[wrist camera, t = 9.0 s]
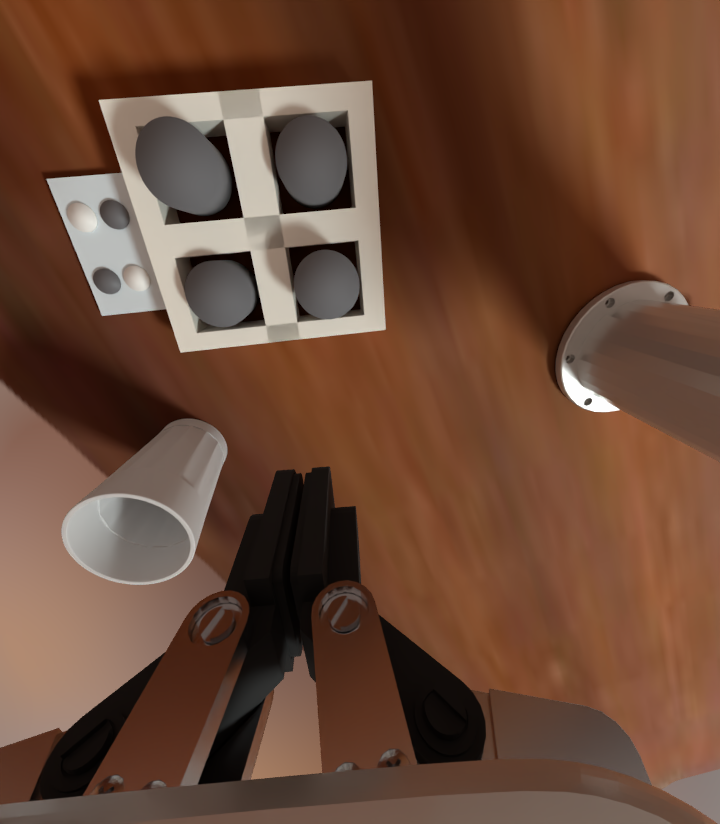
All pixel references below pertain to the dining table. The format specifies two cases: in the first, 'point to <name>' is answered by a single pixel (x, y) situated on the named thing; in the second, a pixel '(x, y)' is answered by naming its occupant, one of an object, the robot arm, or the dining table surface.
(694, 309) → the robot arm
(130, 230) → the card
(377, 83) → the dining table surface
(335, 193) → the camera button
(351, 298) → the button
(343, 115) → the board
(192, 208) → the button camera
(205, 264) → the button
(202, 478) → the cup
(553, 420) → the dining table surface
